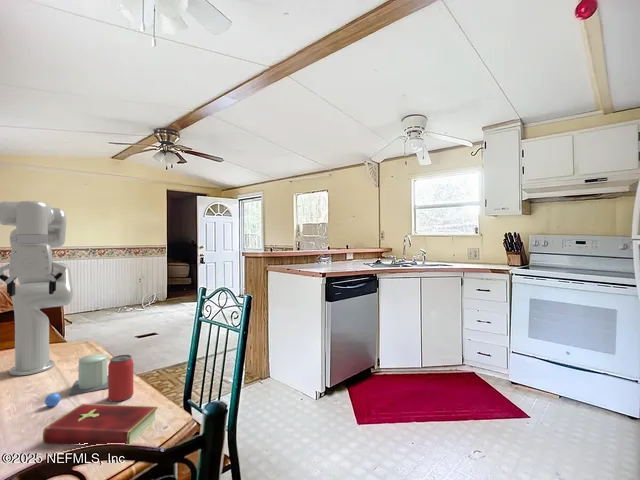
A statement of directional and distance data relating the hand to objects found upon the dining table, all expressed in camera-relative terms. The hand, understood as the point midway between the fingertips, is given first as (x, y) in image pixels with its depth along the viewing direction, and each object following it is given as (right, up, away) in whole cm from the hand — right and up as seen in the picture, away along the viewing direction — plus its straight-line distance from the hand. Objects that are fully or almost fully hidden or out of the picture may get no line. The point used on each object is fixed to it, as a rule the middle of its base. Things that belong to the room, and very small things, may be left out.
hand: (32, 294), depth 105 cm
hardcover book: (+37, -31, -22) cm, 53 cm away
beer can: (+30, -31, -4) cm, 43 cm away
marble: (+14, -29, -9) cm, 33 cm away
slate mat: (+16, -30, +4) cm, 35 cm away
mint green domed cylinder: (+16, -30, +4) cm, 34 cm away
